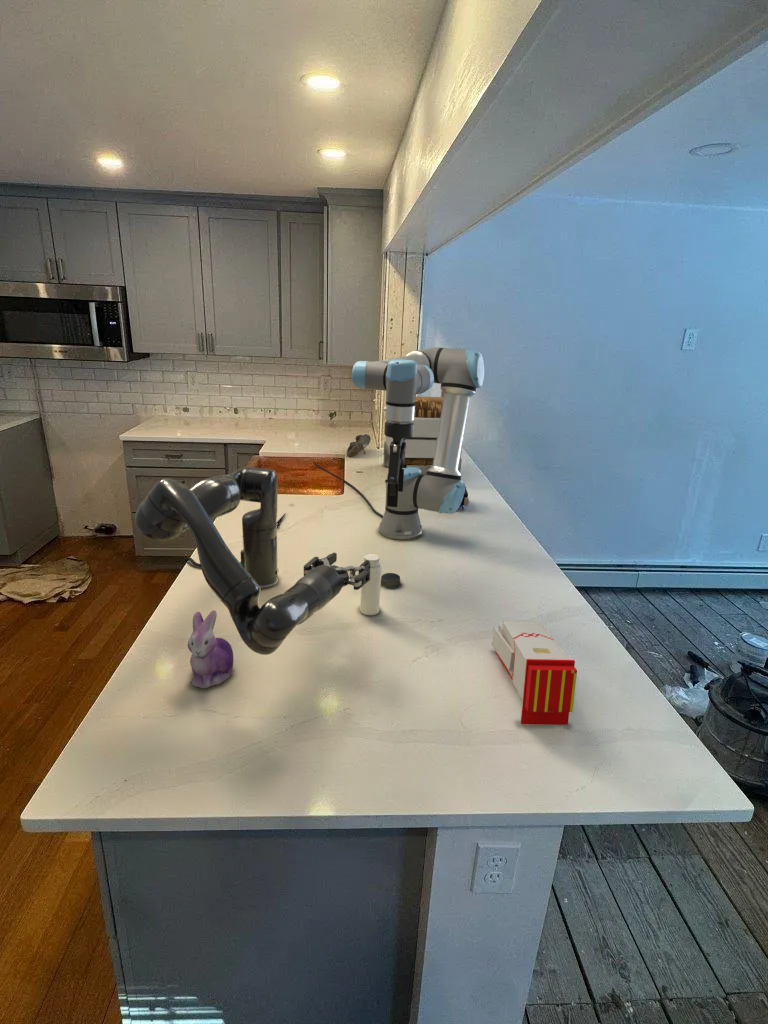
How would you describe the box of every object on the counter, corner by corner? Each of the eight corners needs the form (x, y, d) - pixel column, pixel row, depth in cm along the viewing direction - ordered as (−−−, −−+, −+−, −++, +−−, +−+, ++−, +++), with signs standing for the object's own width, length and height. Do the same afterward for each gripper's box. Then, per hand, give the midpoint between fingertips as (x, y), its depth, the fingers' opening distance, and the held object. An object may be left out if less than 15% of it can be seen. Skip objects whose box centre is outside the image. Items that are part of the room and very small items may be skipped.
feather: (292, 507, 224) (294, 503, 223) (275, 531, 197) (278, 527, 197) (288, 505, 224) (291, 501, 223) (271, 528, 197) (273, 524, 197)
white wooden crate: (382, 463, 289) (386, 382, 275) (445, 464, 293) (451, 384, 279) (390, 482, 257) (394, 392, 243) (460, 483, 261) (468, 394, 247)
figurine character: (468, 514, 225) (463, 498, 239) (470, 497, 222) (465, 482, 235) (451, 514, 225) (447, 498, 238) (453, 497, 222) (449, 481, 235)
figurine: (194, 695, 113) (188, 630, 108) (185, 667, 122) (179, 606, 117) (241, 683, 118) (238, 620, 112) (229, 657, 126) (226, 597, 121)
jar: (383, 610, 149) (385, 557, 144) (370, 617, 145) (372, 563, 140) (369, 603, 152) (371, 551, 147) (356, 610, 148) (357, 556, 143)
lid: (377, 585, 162) (378, 578, 161) (385, 578, 167) (385, 571, 166) (395, 589, 160) (396, 583, 159) (402, 582, 165) (403, 575, 164)
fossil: (346, 440, 316) (367, 425, 311) (357, 453, 319) (378, 438, 314) (340, 453, 296) (362, 438, 291) (351, 468, 299) (374, 452, 294)
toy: (538, 606, 134) (586, 666, 105) (533, 659, 137) (578, 731, 108) (487, 605, 134) (521, 665, 105) (483, 658, 137) (515, 730, 107)
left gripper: (287, 597, 122) (324, 568, 136) (345, 613, 117) (378, 581, 130) (286, 566, 119) (325, 539, 133) (346, 581, 114) (380, 551, 128)
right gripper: (391, 412, 160) (387, 484, 167) (377, 429, 136) (374, 512, 144) (417, 414, 159) (412, 486, 166) (408, 431, 136) (404, 514, 143)
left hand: (351, 560), depth 132 cm, fingers open, 8 cm apart
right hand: (395, 498), depth 155 cm, fingers open, 13 cm apart
